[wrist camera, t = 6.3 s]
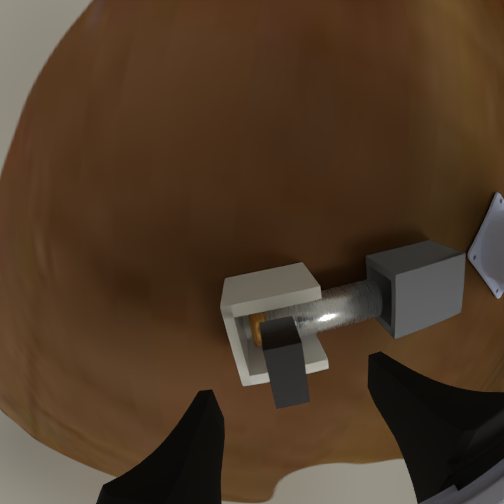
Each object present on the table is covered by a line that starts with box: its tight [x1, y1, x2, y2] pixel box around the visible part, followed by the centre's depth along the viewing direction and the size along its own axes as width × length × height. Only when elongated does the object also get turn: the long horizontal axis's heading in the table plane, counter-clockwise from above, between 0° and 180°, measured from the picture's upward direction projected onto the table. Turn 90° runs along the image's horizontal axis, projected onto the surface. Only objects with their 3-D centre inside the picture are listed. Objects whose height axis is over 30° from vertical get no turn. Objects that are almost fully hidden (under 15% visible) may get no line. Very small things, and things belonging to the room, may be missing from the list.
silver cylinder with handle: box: [248, 278, 383, 409], centre depth 16 cm, size 9×4×8 cm, turn 101°
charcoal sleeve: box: [365, 240, 465, 339], centre depth 18 cm, size 6×5×5 cm
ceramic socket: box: [220, 262, 328, 386], centre depth 18 cm, size 6×6×5 cm
